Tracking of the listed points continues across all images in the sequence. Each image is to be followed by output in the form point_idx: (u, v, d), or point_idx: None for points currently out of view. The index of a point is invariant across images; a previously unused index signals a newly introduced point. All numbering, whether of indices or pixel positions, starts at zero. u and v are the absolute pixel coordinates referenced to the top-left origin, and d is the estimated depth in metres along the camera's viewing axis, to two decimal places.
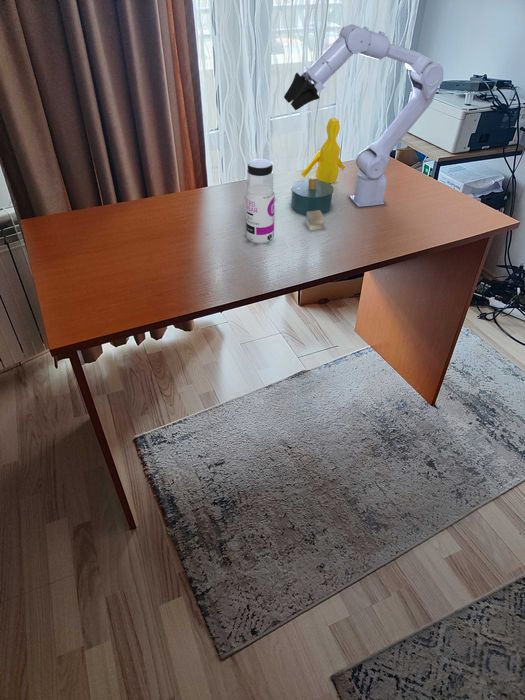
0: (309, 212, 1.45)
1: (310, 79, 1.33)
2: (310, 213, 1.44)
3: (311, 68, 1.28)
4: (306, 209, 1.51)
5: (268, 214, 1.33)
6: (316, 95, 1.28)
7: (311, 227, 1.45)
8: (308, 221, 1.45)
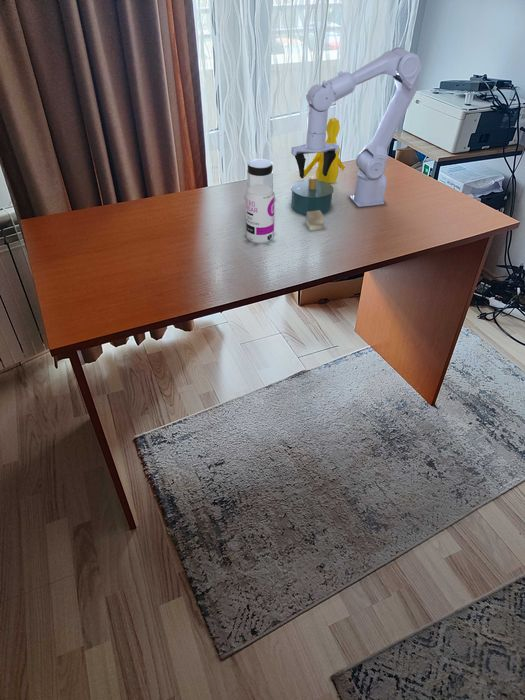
0: (309, 212, 1.45)
1: None
2: (310, 213, 1.44)
3: None
4: (306, 209, 1.51)
5: (268, 214, 1.33)
6: (297, 158, 1.43)
7: (311, 227, 1.45)
8: (308, 221, 1.45)
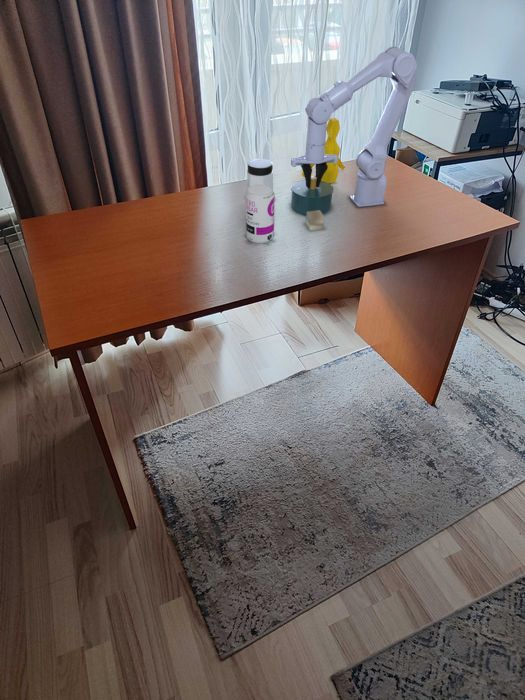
0: (309, 212, 1.45)
1: None
2: (310, 213, 1.44)
3: None
4: (306, 209, 1.51)
5: (268, 214, 1.33)
6: (303, 169, 1.46)
7: (311, 227, 1.45)
8: (308, 221, 1.45)
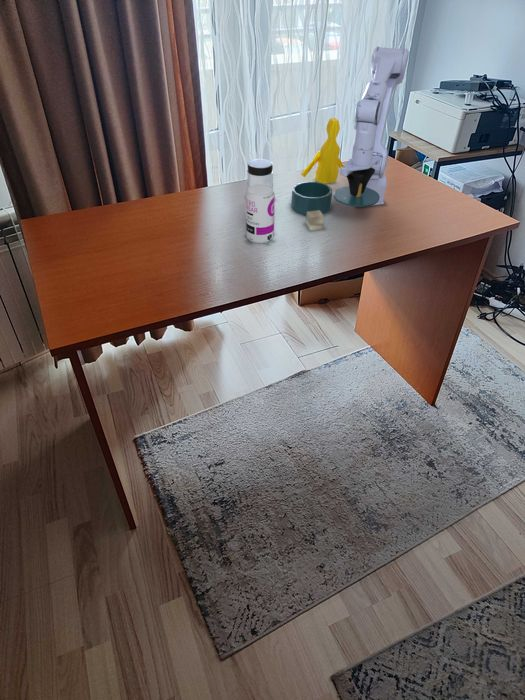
0: (309, 212, 1.45)
1: None
2: (310, 213, 1.44)
3: None
4: (306, 209, 1.51)
5: (268, 214, 1.33)
6: (354, 176, 1.34)
7: (311, 227, 1.45)
8: (308, 221, 1.45)
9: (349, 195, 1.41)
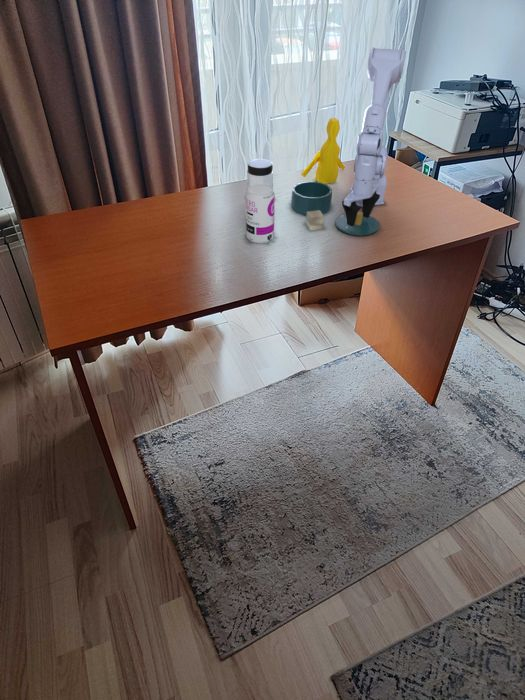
0: (309, 212, 1.45)
1: None
2: (310, 213, 1.44)
3: None
4: (306, 209, 1.51)
5: (268, 214, 1.33)
6: (352, 208, 1.37)
7: (311, 227, 1.45)
8: (308, 221, 1.45)
9: None
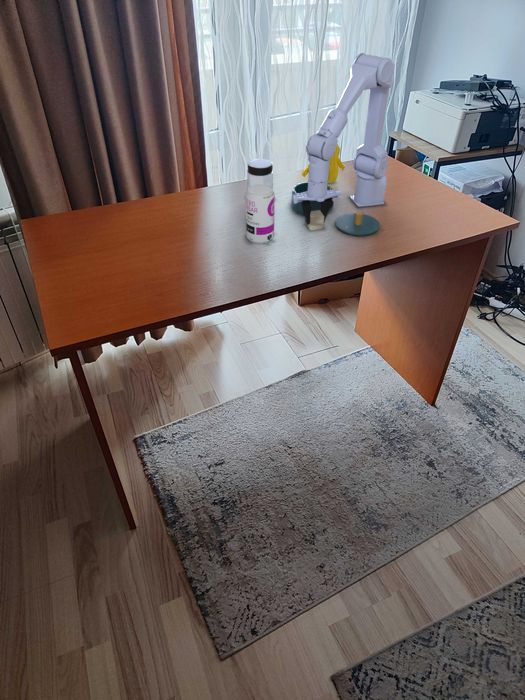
0: None
1: None
2: None
3: (322, 195, 1.37)
4: None
5: (268, 214, 1.33)
6: None
7: (311, 227, 1.45)
8: None
9: (350, 223, 1.46)
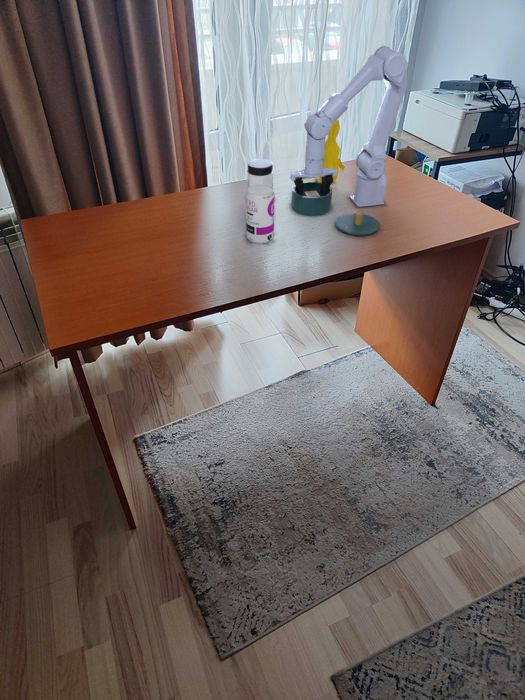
0: (306, 192, 1.54)
1: None
2: (307, 193, 1.54)
3: (318, 172, 1.46)
4: (306, 209, 1.51)
5: (268, 214, 1.33)
6: None
7: None
8: None
9: (350, 223, 1.46)
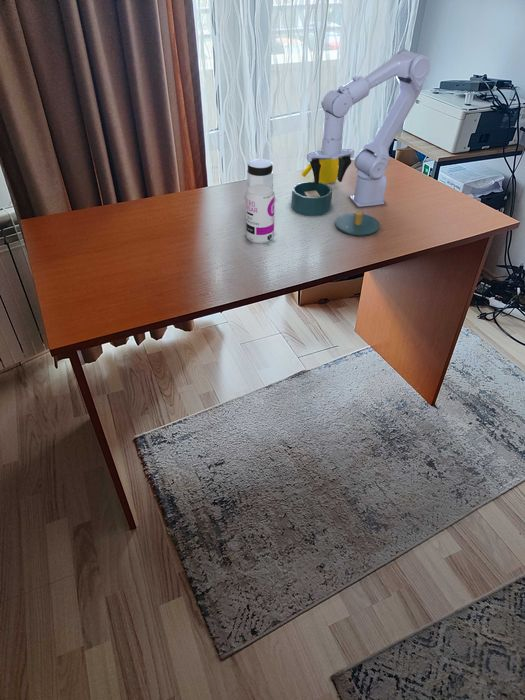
0: (306, 192, 1.54)
1: None
2: (307, 193, 1.54)
3: (336, 152, 1.40)
4: (306, 209, 1.51)
5: (268, 214, 1.33)
6: None
7: None
8: None
9: (350, 223, 1.46)
